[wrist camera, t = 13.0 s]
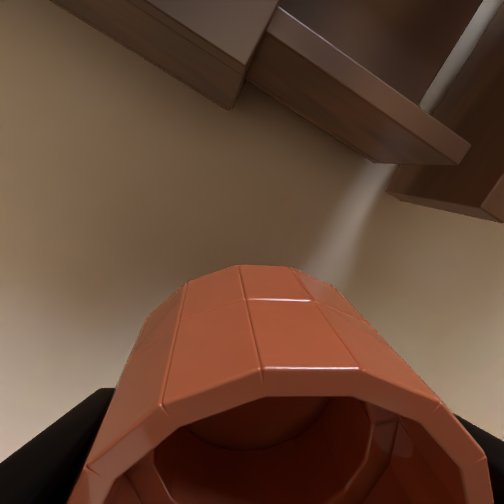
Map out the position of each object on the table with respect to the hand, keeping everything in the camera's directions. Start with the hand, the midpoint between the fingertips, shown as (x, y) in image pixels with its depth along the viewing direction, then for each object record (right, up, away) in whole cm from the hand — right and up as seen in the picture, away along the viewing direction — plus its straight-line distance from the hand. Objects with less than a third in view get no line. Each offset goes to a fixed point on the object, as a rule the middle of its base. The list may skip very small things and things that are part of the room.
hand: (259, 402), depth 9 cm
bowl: (0, 0, +1) cm, 1 cm away
